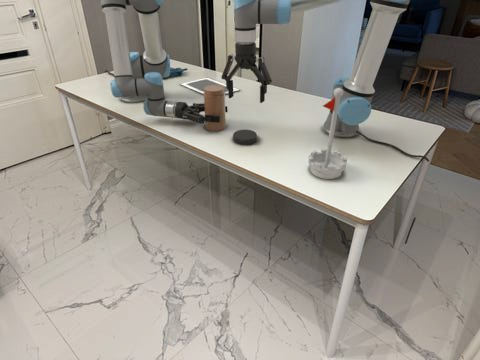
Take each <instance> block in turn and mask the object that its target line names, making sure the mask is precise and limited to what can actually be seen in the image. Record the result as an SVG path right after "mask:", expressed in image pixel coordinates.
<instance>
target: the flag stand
mask: <svg viewBox="0 0 480 360" xmlns="http://www.w3.org/2000/svg"><path fill="white" fill-rule="evenodd" d="M342 95H343V90H342V89H341V88H336V89H335V90H334V96H335V98H334V99H332V98H331V100H329V101H327V102H326V103H325V104H323V105H322V107H324V108H325V109H328V110H329V111H330V110H332V111H333V114H332V121H331V127H330V134H328V141H327V147H326V148H321V149H320V151H317V150H315V149H314V150H312V151H311V152H310V155H308V162H307V163H308V165H309V166H310V167H309V169H310V173H311V174H313V176H315V177H318V178H321V179H325V180H332V179H337V178H339V177H341V176H342V174H343V171H344V170H345V169H346V168H347V164H348V158H347V156H346V155H342V152H340V151H338V150H334V151H332V149H333V143H334V132H335V126H336V120H337V113H338V107H339V101H340V97H341V96H342Z"/></svg>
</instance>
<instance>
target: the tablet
mask: <svg viewBox="0 0 480 360" xmlns="http://www.w3.org/2000/svg"><path fill="white" fill-rule="evenodd" d="M179 85H180V86H183V87H185V88H187V89H189V90H192V91H194V92H196V93H198V94H201V95H203V93H204V88H205V87H206V86H209V85H220V86H223V87H224V92H225V96H226V95H229V94H228V89H227V88H226V83H222V82H220V81H217V80H214V79H212V78H210V77H204V78H200V79H195V80H191V81H187V82H183V83H180V84H179ZM240 91H241V90H240V89H238V88H237V87H234V86H233V93H236V92H240Z"/></svg>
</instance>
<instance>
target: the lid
mask: <svg viewBox="0 0 480 360" xmlns="http://www.w3.org/2000/svg"><path fill="white" fill-rule="evenodd" d="M257 140H258V133H257V132H256V131H254V130H252V129H247V128H246V129H244V128H243V129H238V130H236V131H234V132H233V133H232V141H233V142H234V143H235V144H236V145H239V146H240V145H241V146H250V145H253V144H255V143H256V142H258V141H257Z"/></svg>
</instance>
